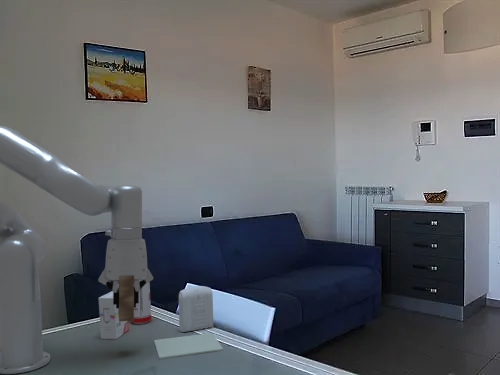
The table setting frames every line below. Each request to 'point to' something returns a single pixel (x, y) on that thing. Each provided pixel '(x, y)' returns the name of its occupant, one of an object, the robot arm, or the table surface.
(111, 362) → the table surface
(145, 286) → the red striped can
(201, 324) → the photo printer
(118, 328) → the ink cartridge box
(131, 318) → the slab
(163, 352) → the board
